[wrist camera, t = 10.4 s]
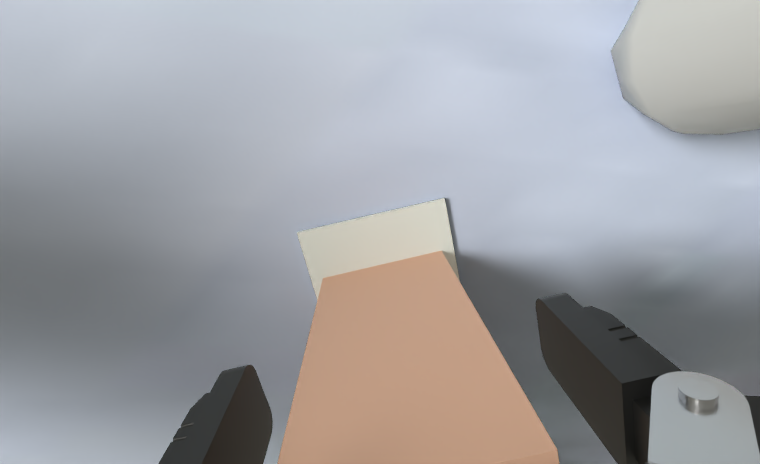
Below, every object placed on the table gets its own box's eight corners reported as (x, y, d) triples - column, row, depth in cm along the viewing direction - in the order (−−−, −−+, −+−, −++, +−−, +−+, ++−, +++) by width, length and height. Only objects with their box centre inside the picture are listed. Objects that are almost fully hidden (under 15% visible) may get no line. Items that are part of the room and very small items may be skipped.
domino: (322, 278, 16) (265, 513, 7) (441, 250, 16) (557, 450, 6) (334, 316, 17) (295, 586, 7) (449, 289, 17) (567, 527, 7)
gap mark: (297, 231, 16) (296, 233, 16) (443, 197, 16) (444, 198, 15) (335, 357, 18) (335, 359, 17) (467, 327, 17) (468, 330, 17)
